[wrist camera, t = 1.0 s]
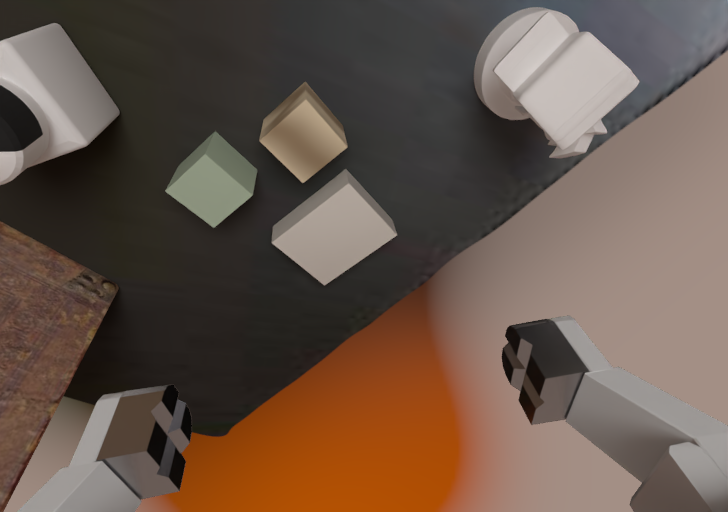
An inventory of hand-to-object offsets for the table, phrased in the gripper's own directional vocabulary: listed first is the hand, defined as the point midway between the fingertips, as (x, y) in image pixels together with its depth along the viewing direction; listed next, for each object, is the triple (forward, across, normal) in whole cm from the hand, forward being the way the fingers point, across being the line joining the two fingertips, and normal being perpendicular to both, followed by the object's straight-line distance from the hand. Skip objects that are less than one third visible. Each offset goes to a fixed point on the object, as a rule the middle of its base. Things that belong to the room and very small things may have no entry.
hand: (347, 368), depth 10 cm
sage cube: (+31, +10, +7) cm, 33 cm away
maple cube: (+31, +1, +4) cm, 31 cm away
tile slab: (+31, 0, +15) cm, 34 cm away
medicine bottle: (+31, +20, -2) cm, 37 cm away
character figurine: (+30, -18, +1) cm, 36 cm away
